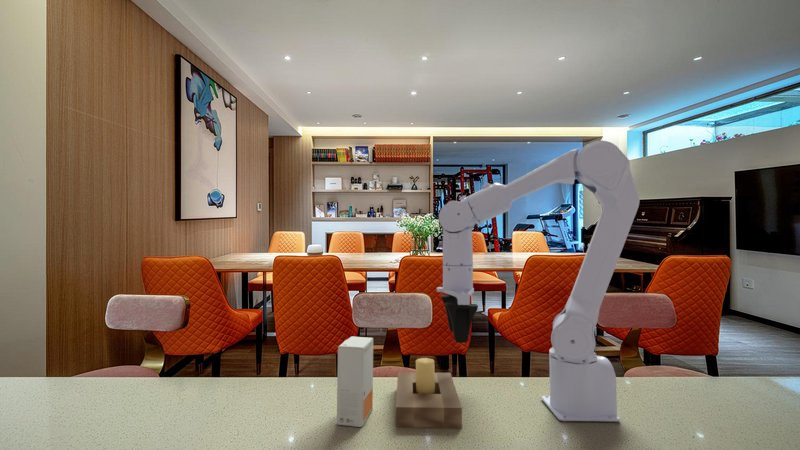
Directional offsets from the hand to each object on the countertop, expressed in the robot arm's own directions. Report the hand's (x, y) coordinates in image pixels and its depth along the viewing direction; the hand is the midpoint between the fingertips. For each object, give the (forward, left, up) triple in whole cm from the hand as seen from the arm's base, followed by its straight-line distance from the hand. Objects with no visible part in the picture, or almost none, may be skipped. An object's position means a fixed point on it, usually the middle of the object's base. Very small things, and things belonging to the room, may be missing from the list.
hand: (458, 336), depth 68 cm
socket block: (+7, +7, -10) cm, 14 cm away
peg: (+7, +7, -9) cm, 13 cm away
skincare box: (+18, +11, -10) cm, 23 cm away
